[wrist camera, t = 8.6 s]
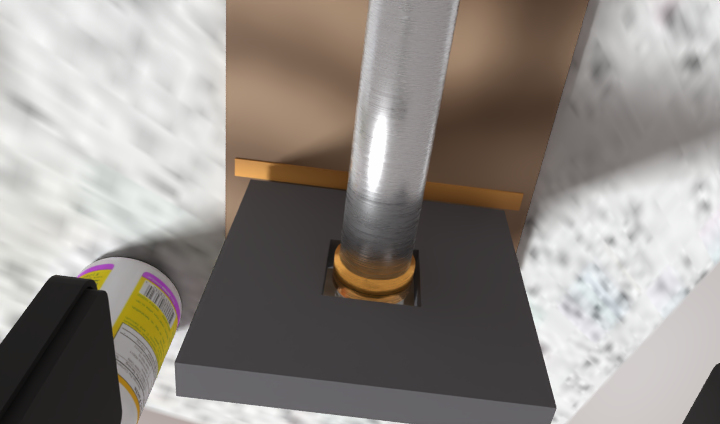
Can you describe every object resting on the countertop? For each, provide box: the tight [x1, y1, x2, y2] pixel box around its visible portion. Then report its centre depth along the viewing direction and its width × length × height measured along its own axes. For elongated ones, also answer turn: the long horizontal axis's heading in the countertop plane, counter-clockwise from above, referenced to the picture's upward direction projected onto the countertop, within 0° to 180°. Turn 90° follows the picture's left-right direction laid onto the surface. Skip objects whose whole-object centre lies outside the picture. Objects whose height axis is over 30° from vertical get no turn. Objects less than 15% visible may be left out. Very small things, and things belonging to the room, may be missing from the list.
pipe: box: [332, 0, 460, 305], centre depth 25 cm, size 20×3×3 cm, turn 174°
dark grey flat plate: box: [175, 179, 556, 424], centre depth 28 cm, size 2×13×13 cm, turn 84°
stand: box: [225, 0, 589, 306], centre depth 28 cm, size 22×16×8 cm
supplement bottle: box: [77, 257, 182, 424], centre depth 35 cm, size 7×7×13 cm
